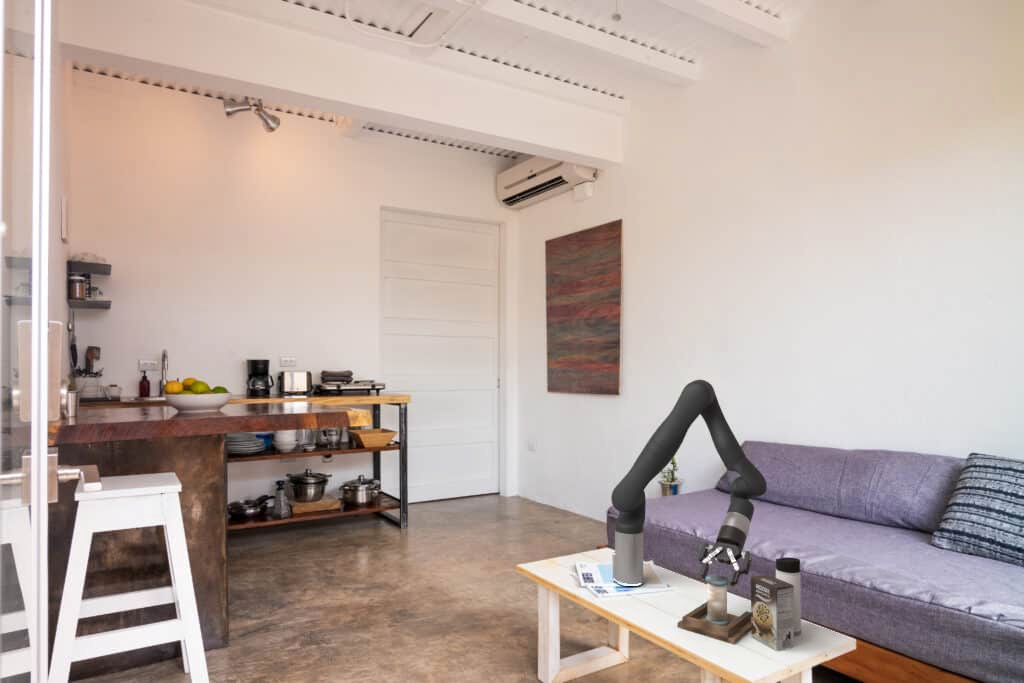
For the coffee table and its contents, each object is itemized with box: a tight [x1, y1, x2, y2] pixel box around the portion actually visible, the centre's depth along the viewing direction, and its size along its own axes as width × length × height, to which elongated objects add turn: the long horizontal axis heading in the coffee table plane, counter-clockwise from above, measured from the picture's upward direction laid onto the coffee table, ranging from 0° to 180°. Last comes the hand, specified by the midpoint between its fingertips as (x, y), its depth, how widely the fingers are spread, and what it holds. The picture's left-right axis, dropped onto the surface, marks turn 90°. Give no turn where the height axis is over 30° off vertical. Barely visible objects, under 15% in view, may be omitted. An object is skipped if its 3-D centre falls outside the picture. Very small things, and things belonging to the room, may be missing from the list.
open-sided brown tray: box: [677, 600, 751, 645], centre depth 177 cm, size 16×16×3 cm
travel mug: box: [775, 556, 802, 637], centre depth 175 cm, size 6×7×20 cm
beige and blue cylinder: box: [705, 574, 729, 626], centre depth 178 cm, size 6×6×12 cm
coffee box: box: [750, 574, 795, 652], centre depth 168 cm, size 9×6×16 cm
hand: (717, 581), depth 178 cm, fingers open, 8 cm apart
